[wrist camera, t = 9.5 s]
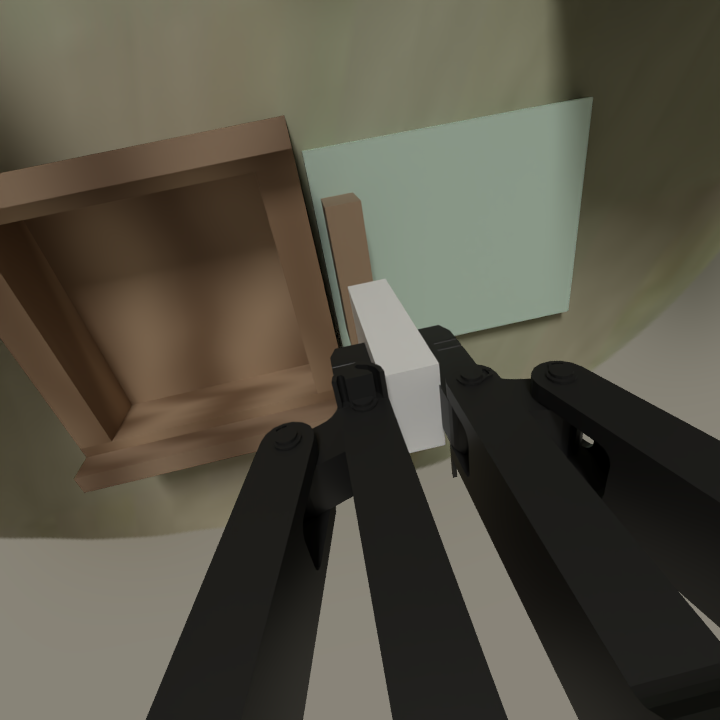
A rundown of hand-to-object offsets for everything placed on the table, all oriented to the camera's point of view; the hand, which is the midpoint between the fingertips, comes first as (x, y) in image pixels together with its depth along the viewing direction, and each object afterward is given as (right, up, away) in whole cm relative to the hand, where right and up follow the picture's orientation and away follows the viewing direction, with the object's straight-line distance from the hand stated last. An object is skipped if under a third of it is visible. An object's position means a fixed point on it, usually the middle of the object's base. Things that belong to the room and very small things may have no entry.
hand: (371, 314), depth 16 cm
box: (-9, +2, +6) cm, 11 cm away
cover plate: (+4, +5, +7) cm, 10 cm away
